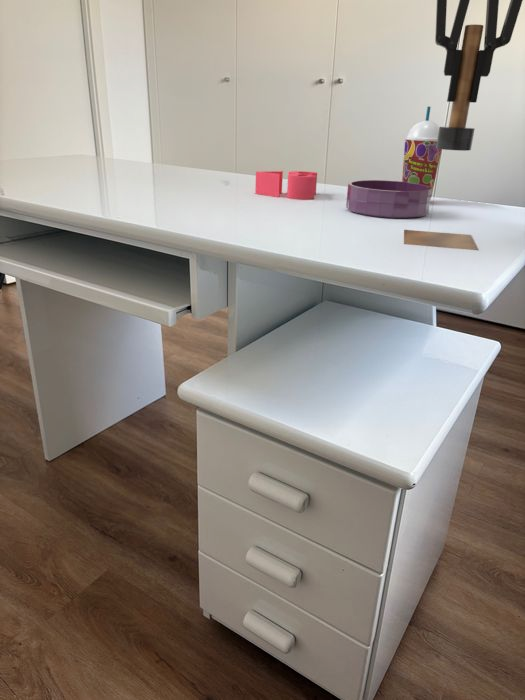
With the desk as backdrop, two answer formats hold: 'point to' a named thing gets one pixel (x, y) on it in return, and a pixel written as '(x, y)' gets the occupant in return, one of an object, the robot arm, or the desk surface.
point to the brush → (462, 95)
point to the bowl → (388, 198)
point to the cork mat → (439, 239)
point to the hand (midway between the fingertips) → (461, 101)
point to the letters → (298, 184)
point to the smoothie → (421, 153)
